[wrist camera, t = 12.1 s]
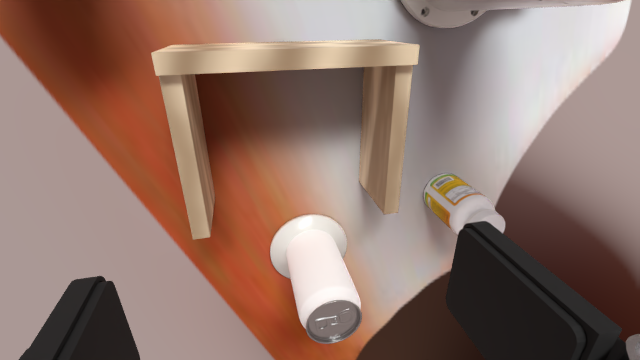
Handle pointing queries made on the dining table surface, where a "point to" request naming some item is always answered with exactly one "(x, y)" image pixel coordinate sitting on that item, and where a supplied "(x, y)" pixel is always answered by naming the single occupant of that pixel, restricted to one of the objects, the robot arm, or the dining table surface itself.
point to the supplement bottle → (459, 203)
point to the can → (322, 288)
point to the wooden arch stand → (374, 55)
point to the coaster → (299, 226)
